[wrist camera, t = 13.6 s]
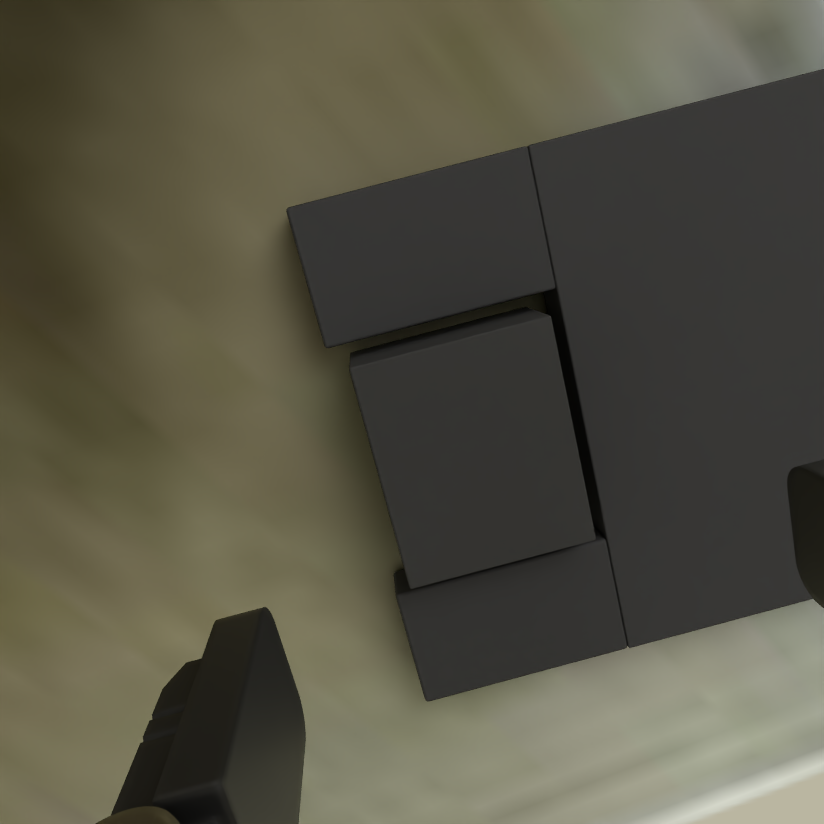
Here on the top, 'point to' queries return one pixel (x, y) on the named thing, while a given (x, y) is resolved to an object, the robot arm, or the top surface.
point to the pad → (474, 445)
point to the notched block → (618, 360)
